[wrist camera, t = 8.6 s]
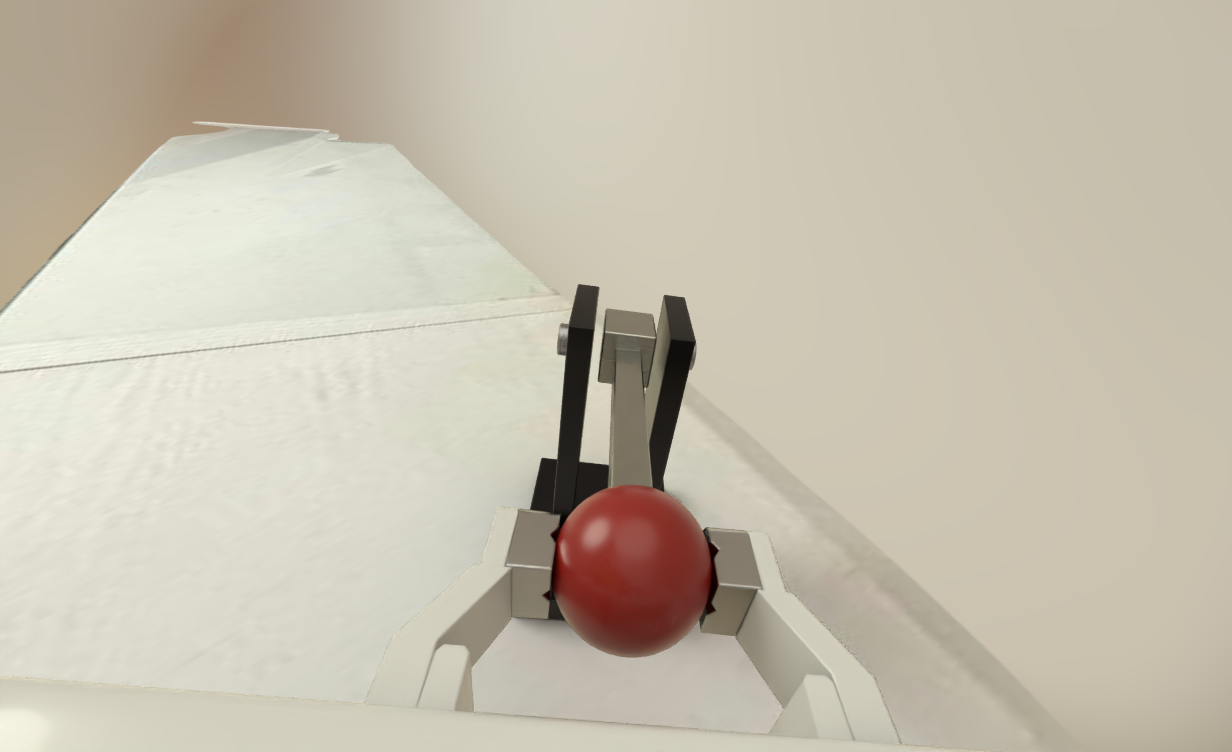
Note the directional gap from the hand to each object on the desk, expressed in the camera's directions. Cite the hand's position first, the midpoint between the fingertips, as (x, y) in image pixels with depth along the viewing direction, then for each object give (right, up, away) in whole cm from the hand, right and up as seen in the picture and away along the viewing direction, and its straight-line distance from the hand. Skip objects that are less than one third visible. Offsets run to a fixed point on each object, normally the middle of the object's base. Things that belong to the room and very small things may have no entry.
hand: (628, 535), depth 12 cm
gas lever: (0, +1, +5) cm, 5 cm away
